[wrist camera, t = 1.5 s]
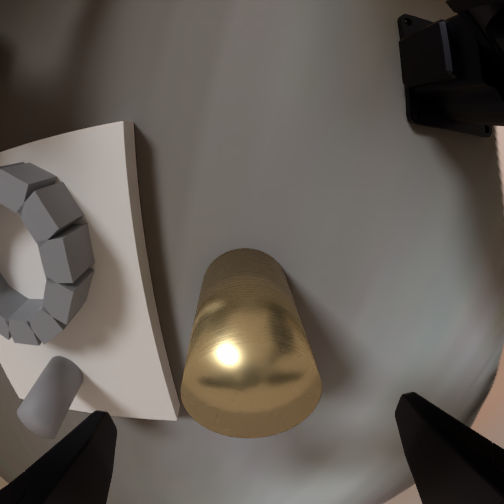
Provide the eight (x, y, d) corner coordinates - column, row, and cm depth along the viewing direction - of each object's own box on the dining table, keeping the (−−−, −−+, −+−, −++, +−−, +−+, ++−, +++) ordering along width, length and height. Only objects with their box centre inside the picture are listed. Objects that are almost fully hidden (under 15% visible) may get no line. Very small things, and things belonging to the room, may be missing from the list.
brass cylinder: (286, 246, 16) (328, 337, 8) (286, 321, 17) (315, 431, 10) (198, 250, 16) (168, 346, 8) (207, 325, 17) (193, 438, 10)
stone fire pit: (133, 122, 13) (67, 113, 7) (179, 405, 19) (167, 481, 13) (-41, 170, 13) (-108, 190, 7) (26, 387, 19) (-6, 439, 13)
